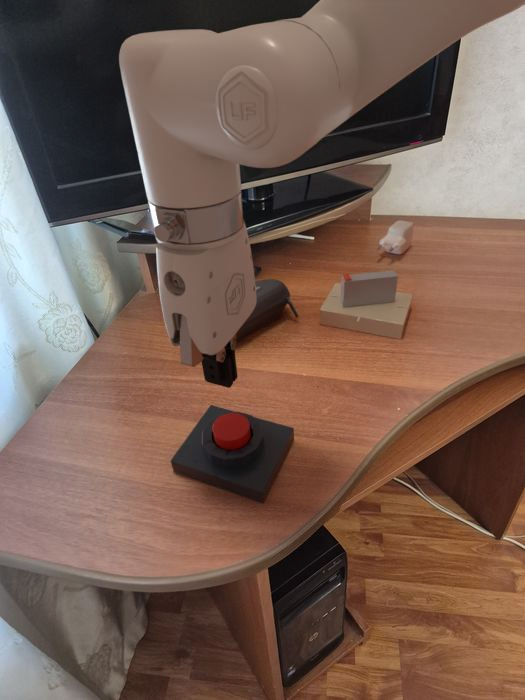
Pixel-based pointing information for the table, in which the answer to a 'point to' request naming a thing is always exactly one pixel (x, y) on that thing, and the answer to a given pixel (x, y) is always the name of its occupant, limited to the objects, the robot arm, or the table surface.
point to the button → (231, 431)
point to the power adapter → (397, 237)
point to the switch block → (235, 456)
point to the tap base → (367, 315)
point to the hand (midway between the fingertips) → (221, 380)
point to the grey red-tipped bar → (368, 288)
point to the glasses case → (266, 306)
